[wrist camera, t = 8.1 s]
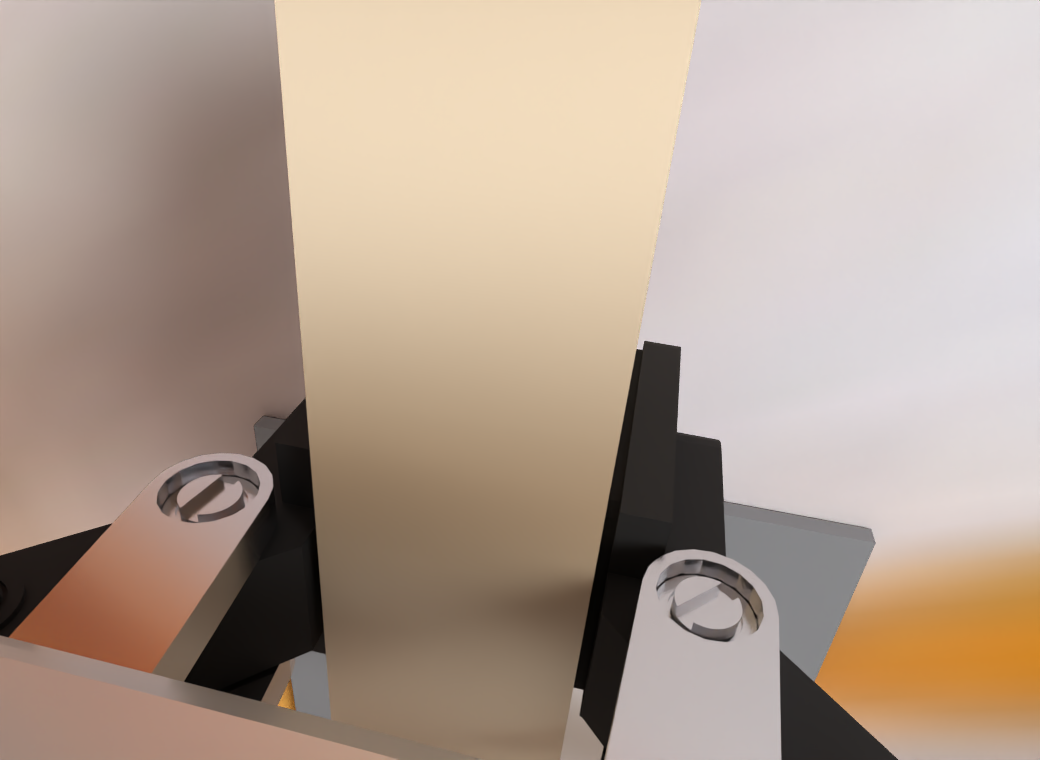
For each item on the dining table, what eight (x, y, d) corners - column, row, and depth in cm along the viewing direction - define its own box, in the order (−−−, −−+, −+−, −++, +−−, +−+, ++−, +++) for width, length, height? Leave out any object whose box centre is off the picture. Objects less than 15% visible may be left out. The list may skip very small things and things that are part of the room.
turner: (310, -165, 9) (-63, -301, 4) (920, -120, 8) (1197, -236, 3) (355, 716, 17) (243, 959, 13) (647, 791, 16) (629, 1081, 12)
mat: (871, 529, 18) (875, 543, 17) (740, 832, 25) (740, 847, 24) (263, 416, 20) (253, 425, 19) (306, 723, 27) (299, 736, 27)
